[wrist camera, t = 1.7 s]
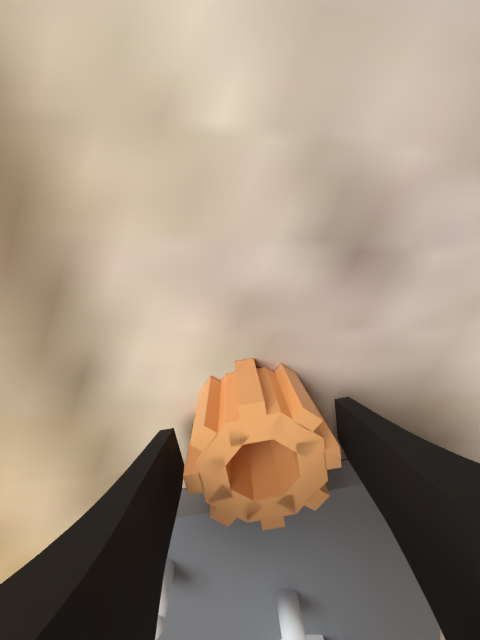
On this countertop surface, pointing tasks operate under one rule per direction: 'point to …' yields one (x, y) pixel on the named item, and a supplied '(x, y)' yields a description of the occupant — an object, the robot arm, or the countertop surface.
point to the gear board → (292, 575)
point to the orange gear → (259, 447)
